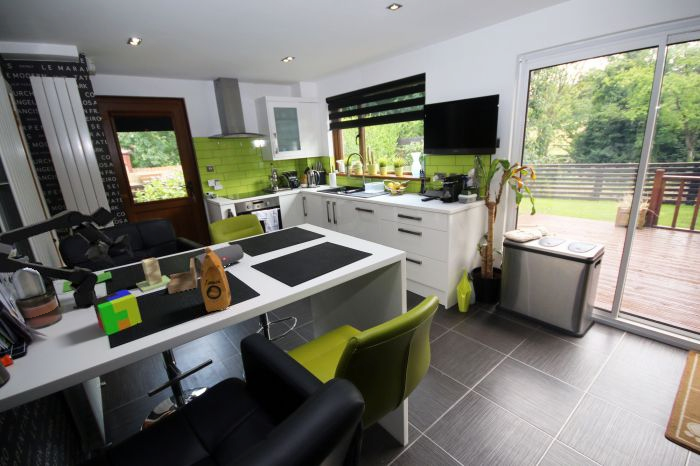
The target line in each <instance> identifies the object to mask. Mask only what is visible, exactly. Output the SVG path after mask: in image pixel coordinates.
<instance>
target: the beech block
mask: <svg viewBox="0 0 700 466" xmlns="http://www.w3.org/2000/svg"><path fill="white" fill-rule="evenodd" d="M141 264H142V268H143V273H144V278H145V281H146V282H147V284H148V285H150V286H152V285H155V284H158V283H162V277H161V276H162V273H161V270H160V269H161V268H160V264H159V259H158V258H156V257H150V258H147V259H142V260H141Z"/></svg>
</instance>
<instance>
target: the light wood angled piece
mask: <svg viewBox="0 0 700 466" xmlns="http://www.w3.org/2000/svg"><path fill="white" fill-rule="evenodd" d="M197 273H198V272H197V271H196V268H195V263H194V257H191V258H190V262H189V271H185V272H180V273H174V274H170V275H169V279H171V280H170V284H168V285H166V286H167V290H168V294H171V295H172V294H177V293H180V291H182V292H185V290H187V291H190V290H189V289H192V290H194V289H193V288H196V289H198V275H197ZM176 292H177V293H176Z"/></svg>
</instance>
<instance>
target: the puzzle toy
mask: <svg viewBox="0 0 700 466" xmlns="http://www.w3.org/2000/svg"><path fill="white" fill-rule="evenodd" d="M92 302H93V305H92V306H93V308H94V311H95V314H96V318H97V322H98V325H99V327H100V328H101V330H103V332H105V334H106V335H107V336H109V335H112V334H115V333H117V332H121V331H122V330H125V329H128V328H130V327H132V326H135V325H137V323H138V324H140V323H142V322H143V321H142V318H141V317H142V316H141V313H140V309H139V306H138V301H137V297H136V295H134V294H133V293H132V292H130V291H129V290H127V289H122V290H119V291H116V292H113V293H110V294H106V295H104V296H100V297H97V299H93V300H92Z"/></svg>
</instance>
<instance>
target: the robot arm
mask: <svg viewBox="0 0 700 466" xmlns="http://www.w3.org/2000/svg"><path fill="white" fill-rule="evenodd" d="M116 219H117V217H116V215H115V214H113V212H112V211H109V210H108V209H106V208H105V207H104V206H99V207H98V208H96V210H94V211H93V212H92V213H90V214H87V213H86V214H85V213H84V214H83V213H82V212H80V211H78V210H73V209H66V210H63V211H61V212H59V213H56V214H55V215H53V216H52V217H50V218H48V219H44V220H42V221H41V220H40V221H37V222H35V223H32V224H31V223H30V224H27V225H25V226H22V227H18V228H15V229H12V230H8V231H2V232H0V274H12V273H13V274H15V272H16V270H18V269H20V268H23V267H28V268H32V269H34V270H37V271H38V272H39V273H40V275H41V276H40V277H43V278H50V279H55V280H61V281H68V282H70V284H69V285H68V287H69V288H70V290H71V291H74V292H73V293H72V296H73V299H74V303H75V305H74V306H72V309H85V308H87V309H88V308H90V307H92V306H94V305H93V302H92V300H93V299H97V298H98V297H97V293H96V290H95V287H96V284H97V283H98V282H99V276H98V275H97V273H95V272H93V271H92V270H91V269H89V268H86V267H85V268H83V267H82V268H81V267H78V266H74V269H67V268H66V269H65V268H59V267H54V266H49V265H44V264H37V263H31V262H29V261H28V262H26V261H22V260H19V259H16V258H13V257H10V254H11V253H12V249H13V246H14V245H15V243H17V242H20V241H24V240H27V239H29V238H32V237H36V236H38V235H41V234H45V233H47V232H51V231H54V230H59V229H65V228H69V230H70V231H69V235H70V236H73V237H74V236H76V235H79V236H81V237H82V238H83V239H84V240H85V241H87V244H86V245H87V247H89V248H88V250H87V251H86V252H85V253H84V255H83V257H84V260H86V261H87V262H98V261H100V262H103V263H105V264H108V265H111V266H115V265H116V262H115V261H114V259H113V258H112V257H111V256H110V255H109V254H108V251H109V250H111V249H114V248H115V249H117V250H118V252H123V253H125V254H126V255H127V256H128V257H130V258H131V259H133V258H134V253H133V250H132V248H131V247H132V246H131V244H130V243H131V240H132V238H133V237H131V235H130V234H126V233H125V234H123V235H120V236H118V237H117V239H116V240H115V241H114V238H113V237H111V238H110V237H108V236H107V235H105V234H106V231H105V230H102V231H101V230H100V228H101V227H102V228H105V227H107V226H108V225H109V224H111V223H112V222H113V221H114V220H116Z"/></svg>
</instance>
